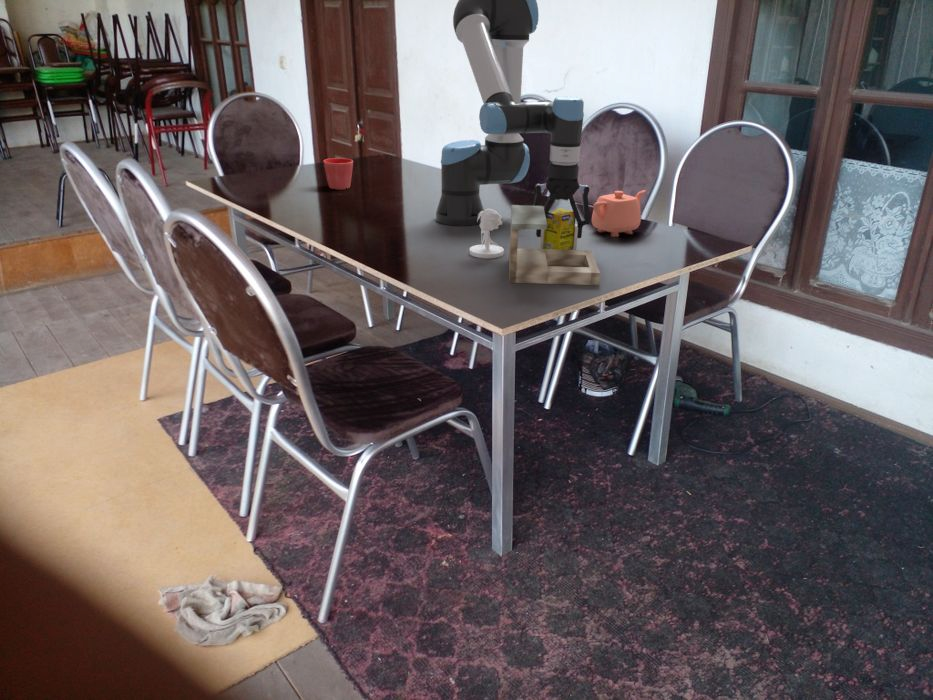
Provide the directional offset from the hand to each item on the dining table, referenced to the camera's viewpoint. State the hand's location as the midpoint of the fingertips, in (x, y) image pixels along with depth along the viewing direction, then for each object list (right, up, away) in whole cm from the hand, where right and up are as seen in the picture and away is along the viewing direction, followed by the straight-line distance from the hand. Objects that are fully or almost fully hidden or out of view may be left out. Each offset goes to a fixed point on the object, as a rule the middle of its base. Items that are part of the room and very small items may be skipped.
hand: (557, 249), depth 187 cm
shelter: (-3, -7, -13) cm, 16 cm away
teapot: (+20, +8, +21) cm, 30 cm away
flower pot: (-71, +33, +72) cm, 107 cm away
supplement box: (0, -1, 0) cm, 1 cm away
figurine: (-19, -1, 0) cm, 19 cm away
